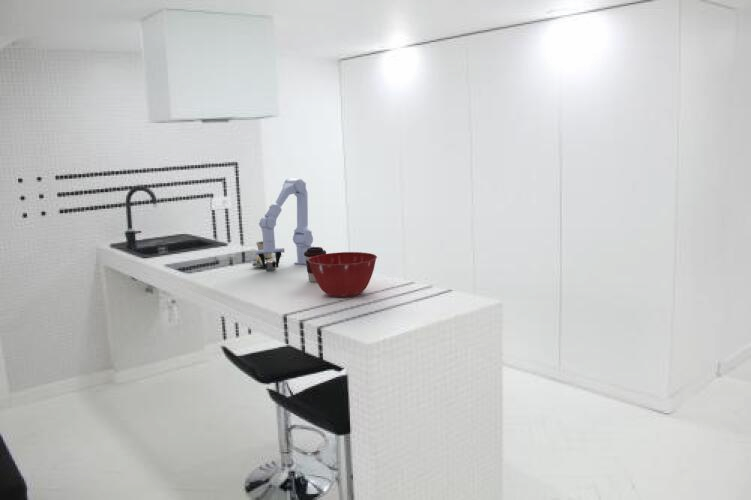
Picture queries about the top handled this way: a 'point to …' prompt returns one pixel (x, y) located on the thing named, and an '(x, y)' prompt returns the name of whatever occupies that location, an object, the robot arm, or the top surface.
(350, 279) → the mixing bowl
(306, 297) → the top surface
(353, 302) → the top surface
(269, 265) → the cube with orange inset
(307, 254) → the coffee cup
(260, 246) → the flower pot
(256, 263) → the sprocket
